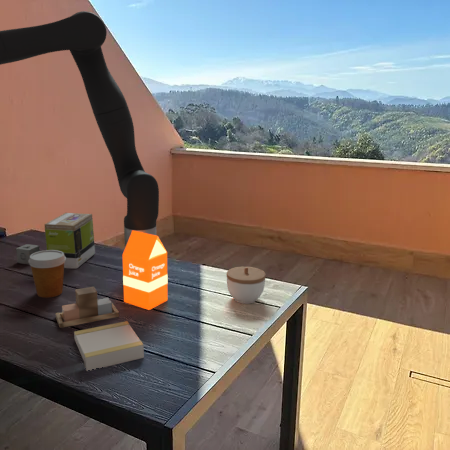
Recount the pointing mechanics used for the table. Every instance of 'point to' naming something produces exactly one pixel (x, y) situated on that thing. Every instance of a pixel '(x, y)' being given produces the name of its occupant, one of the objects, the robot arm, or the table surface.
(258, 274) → the lidded jar
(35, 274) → the disposable coffee cup
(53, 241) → the tea box
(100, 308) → the block
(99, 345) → the strip
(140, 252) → the orange juice
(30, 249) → the dice cube
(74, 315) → the block
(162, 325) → the table surface
